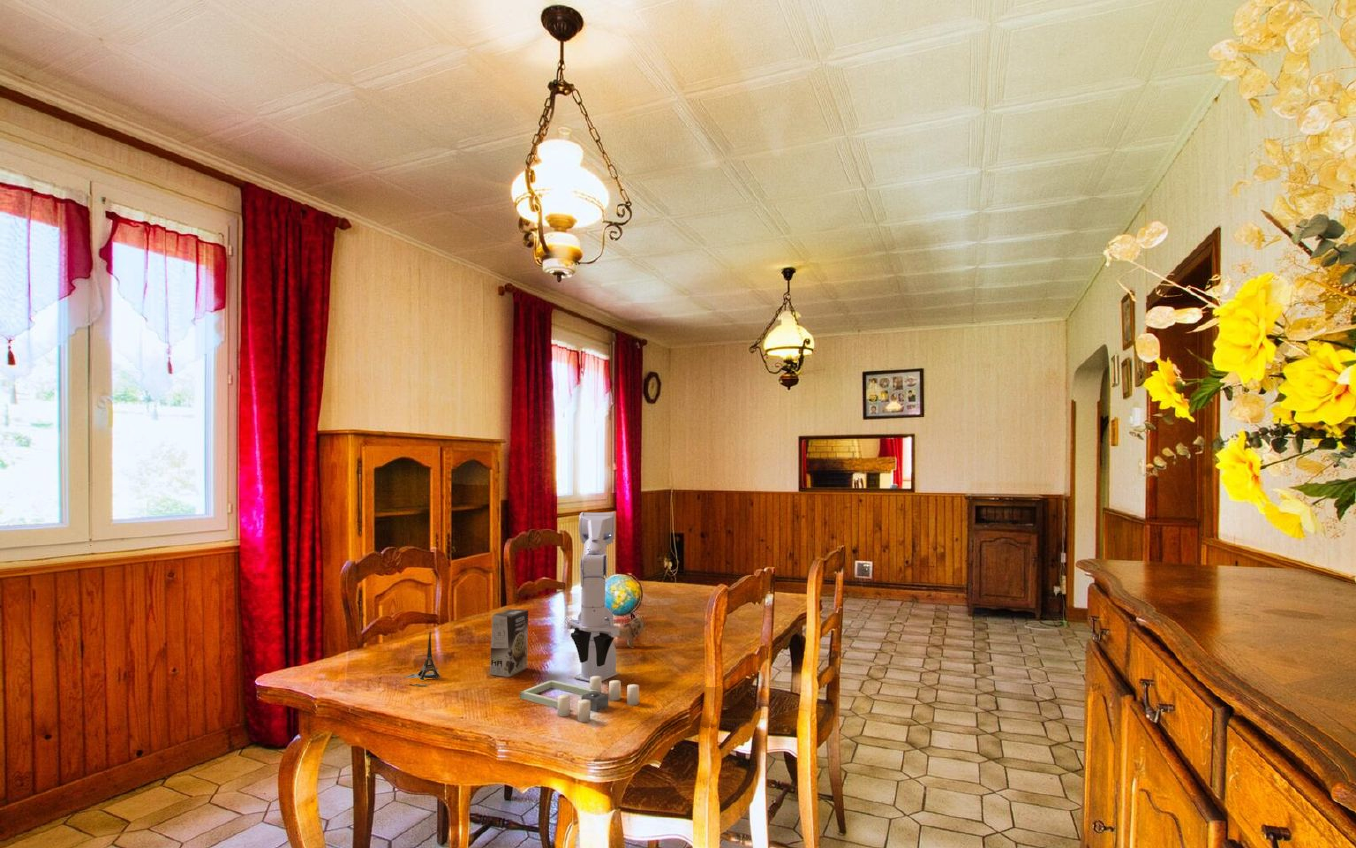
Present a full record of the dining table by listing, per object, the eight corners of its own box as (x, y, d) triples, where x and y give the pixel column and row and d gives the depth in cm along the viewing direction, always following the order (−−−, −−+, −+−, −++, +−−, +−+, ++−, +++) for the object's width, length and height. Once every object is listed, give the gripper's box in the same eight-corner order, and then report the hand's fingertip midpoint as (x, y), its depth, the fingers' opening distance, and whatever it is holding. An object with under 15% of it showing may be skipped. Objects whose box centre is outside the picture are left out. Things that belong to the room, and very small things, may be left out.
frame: (551, 685, 169) (551, 680, 169) (596, 697, 161) (596, 690, 162) (519, 698, 160) (520, 692, 160) (566, 711, 152) (566, 704, 152)
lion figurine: (642, 643, 211) (642, 615, 212) (645, 648, 206) (645, 618, 206) (596, 646, 208) (597, 617, 208) (598, 650, 203) (598, 620, 203)
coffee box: (509, 677, 176) (511, 616, 177) (489, 675, 178) (490, 614, 179) (528, 668, 184) (529, 609, 185) (508, 665, 186) (509, 608, 187)
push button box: (593, 703, 158) (593, 690, 158) (608, 707, 155) (608, 693, 156) (581, 709, 154) (581, 695, 154) (596, 713, 152) (596, 699, 152)
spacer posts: (594, 691, 165) (595, 675, 166) (641, 702, 158) (641, 685, 158) (546, 713, 151) (547, 695, 151) (595, 726, 143) (595, 707, 143)
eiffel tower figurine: (429, 668, 185) (430, 620, 186) (460, 671, 182) (461, 622, 183) (392, 685, 170) (394, 633, 171) (425, 689, 168) (427, 636, 169)
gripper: (558, 604, 157) (557, 662, 156) (606, 612, 150) (605, 673, 149) (578, 599, 163) (577, 655, 162) (625, 606, 155) (624, 665, 155)
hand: (592, 663), depth 156 cm, fingers open, 5 cm apart
